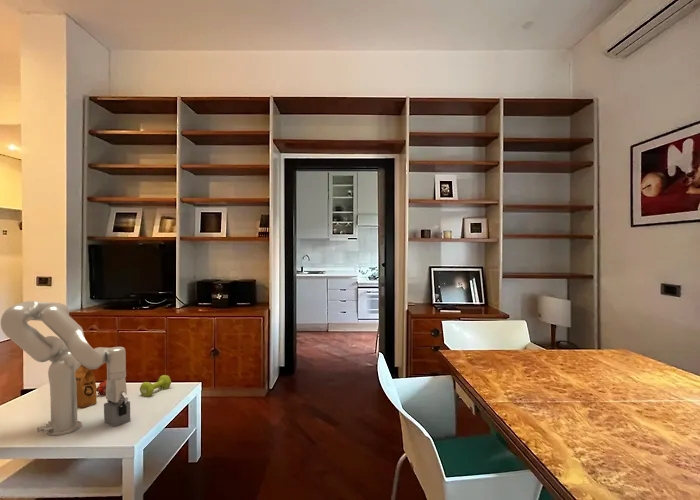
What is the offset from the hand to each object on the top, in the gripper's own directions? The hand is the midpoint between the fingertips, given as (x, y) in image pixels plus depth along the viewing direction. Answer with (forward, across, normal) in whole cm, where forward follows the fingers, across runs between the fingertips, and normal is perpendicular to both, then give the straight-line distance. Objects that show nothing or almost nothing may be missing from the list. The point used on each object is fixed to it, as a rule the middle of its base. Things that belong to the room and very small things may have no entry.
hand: (117, 412), depth 187 cm
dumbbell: (+5, -23, +32) cm, 39 cm away
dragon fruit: (+5, -42, +16) cm, 45 cm away
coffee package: (+4, -37, +2) cm, 37 cm away
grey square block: (+4, 0, 0) cm, 4 cm away
